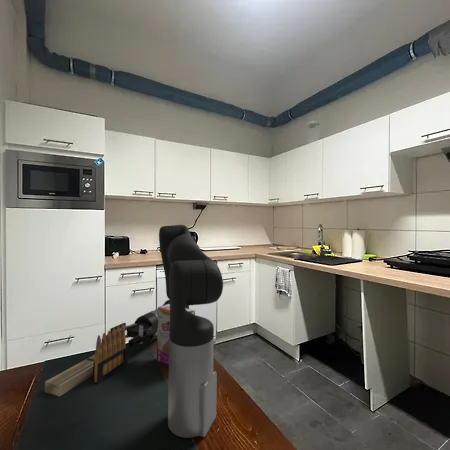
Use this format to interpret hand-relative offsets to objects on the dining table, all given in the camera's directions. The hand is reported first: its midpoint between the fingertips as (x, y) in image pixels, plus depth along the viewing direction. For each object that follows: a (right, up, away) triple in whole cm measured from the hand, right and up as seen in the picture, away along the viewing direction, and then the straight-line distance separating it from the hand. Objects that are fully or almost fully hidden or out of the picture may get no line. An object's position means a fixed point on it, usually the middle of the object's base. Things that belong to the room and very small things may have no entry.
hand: (117, 342), depth 73 cm
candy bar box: (+16, -8, +3) cm, 18 cm away
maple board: (-8, -7, -4) cm, 12 cm away
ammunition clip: (-1, -8, -2) cm, 8 cm away
